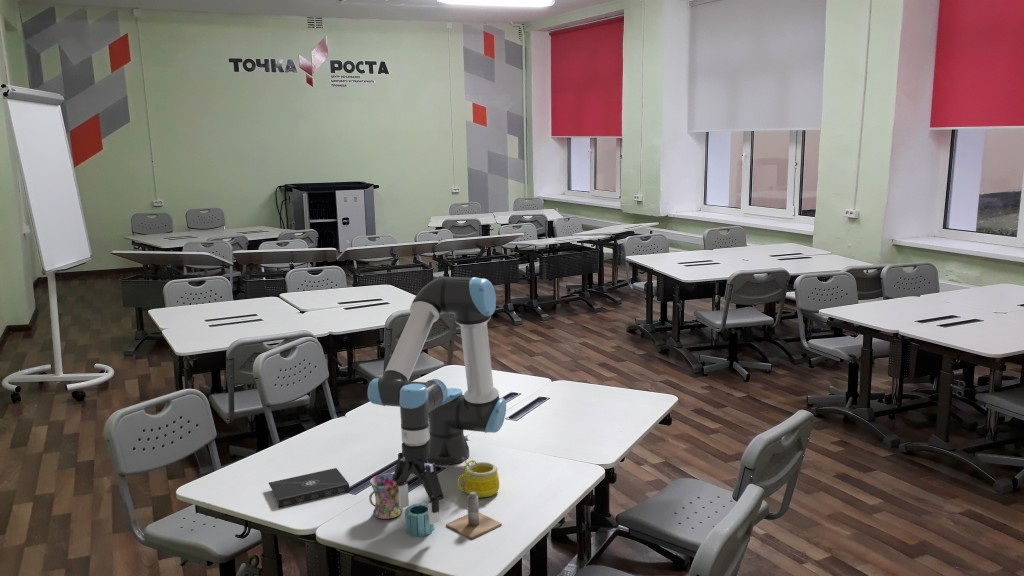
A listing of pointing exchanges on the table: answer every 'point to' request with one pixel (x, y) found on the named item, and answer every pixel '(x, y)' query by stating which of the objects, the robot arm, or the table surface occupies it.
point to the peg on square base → (473, 520)
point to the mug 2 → (480, 479)
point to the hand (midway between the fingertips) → (418, 514)
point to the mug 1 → (385, 496)
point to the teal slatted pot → (418, 520)
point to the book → (309, 487)
